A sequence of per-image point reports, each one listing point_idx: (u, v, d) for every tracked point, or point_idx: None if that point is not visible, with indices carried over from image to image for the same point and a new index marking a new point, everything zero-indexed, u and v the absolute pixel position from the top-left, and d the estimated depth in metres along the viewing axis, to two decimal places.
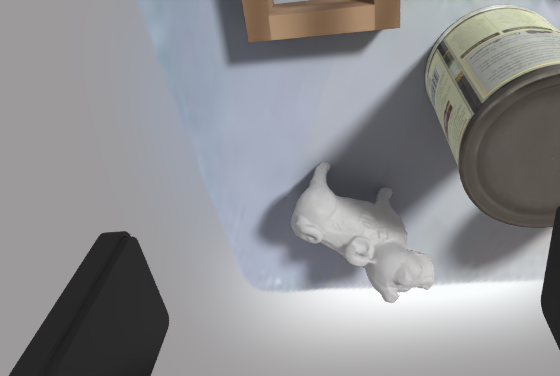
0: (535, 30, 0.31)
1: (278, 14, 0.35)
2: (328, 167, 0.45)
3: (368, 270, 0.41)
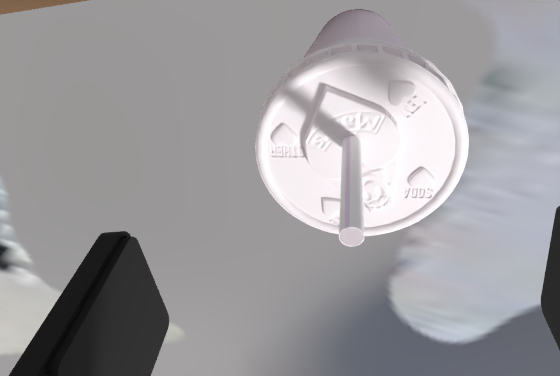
0: None
1: None
2: None
3: None
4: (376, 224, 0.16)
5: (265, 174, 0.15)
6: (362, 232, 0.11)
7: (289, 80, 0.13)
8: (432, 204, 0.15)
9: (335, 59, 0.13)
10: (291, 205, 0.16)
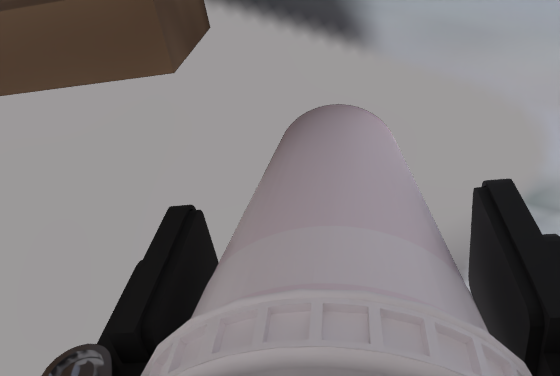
0: None
1: None
2: None
3: None
4: None
5: None
6: None
7: None
8: None
9: (270, 356, 0.06)
10: None
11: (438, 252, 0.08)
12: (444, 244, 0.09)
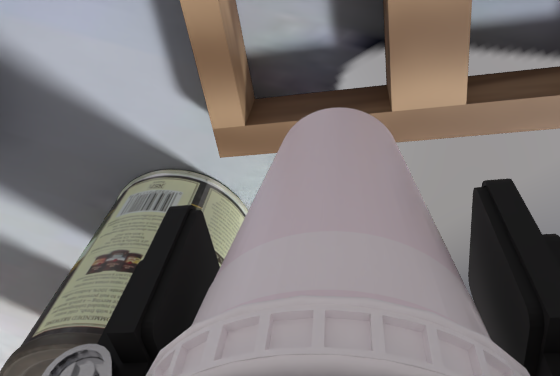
0: None
1: None
2: None
3: None
4: None
5: None
6: None
7: None
8: None
9: (272, 363, 0.06)
10: None
11: (439, 257, 0.08)
12: (445, 248, 0.09)
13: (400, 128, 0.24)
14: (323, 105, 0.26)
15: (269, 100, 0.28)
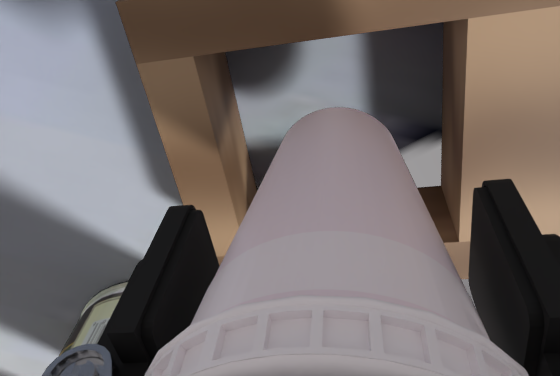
0: None
1: (200, 77, 0.14)
2: None
3: None
4: None
5: None
6: None
7: None
8: None
9: (270, 362, 0.06)
10: None
11: (439, 257, 0.08)
12: (444, 248, 0.09)
13: None
14: None
15: None
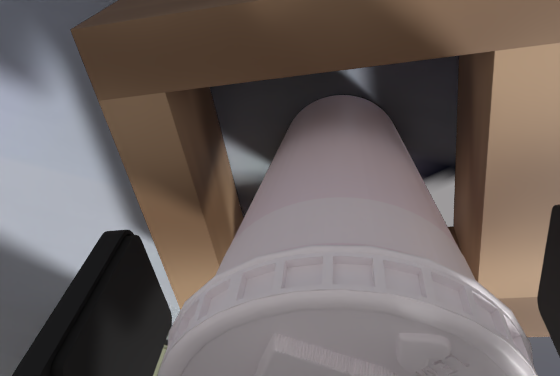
0: None
1: (174, 116, 0.12)
2: None
3: None
4: None
5: None
6: None
7: (203, 324, 0.07)
8: None
9: (288, 298, 0.06)
10: None
11: (435, 222, 0.09)
12: (441, 217, 0.10)
13: None
14: None
15: None
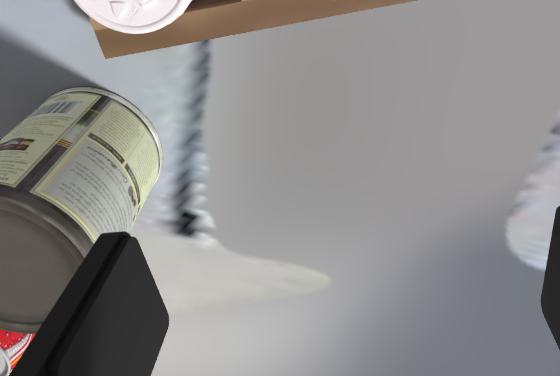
0: (133, 192, 0.32)
1: None
2: None
3: None
4: (152, 21, 0.23)
5: None
6: None
7: None
8: None
9: None
10: (92, 11, 0.23)
11: None
12: None
13: (251, 17, 0.28)
14: (190, 6, 0.30)
15: None
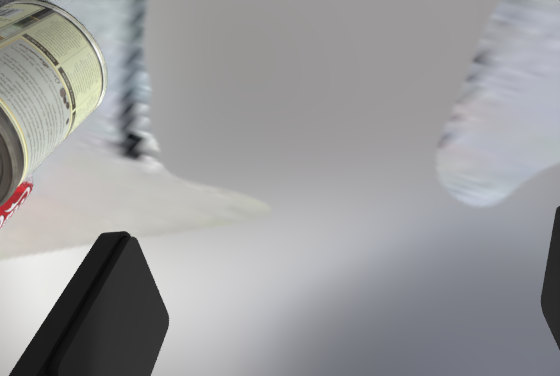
0: (66, 95, 0.34)
1: None
2: None
3: None
4: None
5: None
6: None
7: None
8: None
9: None
10: None
11: None
12: None
13: None
14: None
15: None
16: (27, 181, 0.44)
